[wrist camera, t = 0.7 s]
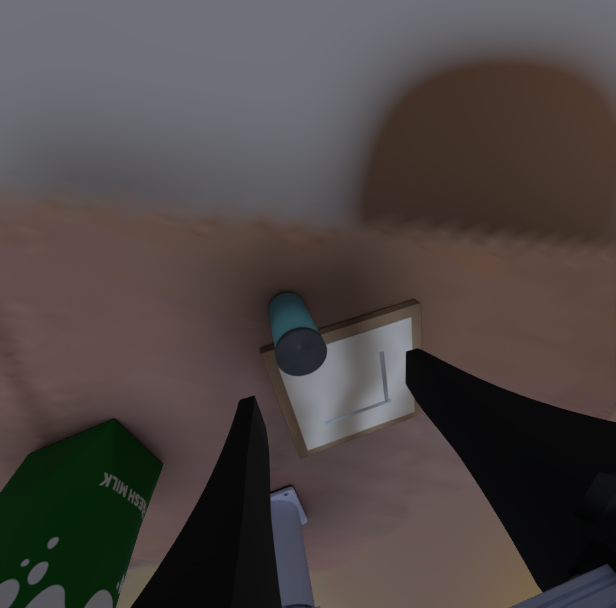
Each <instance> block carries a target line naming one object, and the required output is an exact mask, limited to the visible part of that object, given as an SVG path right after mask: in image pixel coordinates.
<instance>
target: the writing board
mask: <svg viewBox="0 0 616 608" xmlns="http://www.w3.org/2000/svg"><path fill="white" fill-rule="evenodd" d="M318 332H319V334H320V335H321V336H322V338H323V340H324V342H325V344H326V346H327V356H326V359H325V361H324V363H323V364H322V365H321V367H320V368H318V369H317V370H316V371H314V372H313V373H310V374H308V375H304V376H292V375H288V374H286V373H284V372H283V371H282V370H281V369H280V368H279V367H278V365H277V362H276V357H275V346H274V344H272V345H269V346H266V347H262V348H260V355H261V357H262V360H263V363H264V365H265V368H266V370H267V373H268V375H269V378H270V381H271V383H272V386H273V388H274V391H275V394H276V396H277V399H278V401H279V404H280V407H281V409H282V412H283V414H284V417H285V420H286V422H287V425H288V427H289V430H290V433H291V435H292V438H293V440H294V443H295V446H296V448H297V451H298V453H299V456H300V458H303V457H305V456H308V455H311V454H314V453H316V452H319V451H322V450H325V449H327V448H330V447H333V446H335V445H338V444H341V443H344V442H346V441H349V440H352V439H355V438H357V437H360V436H363V435H365V434H368V433H371V432H374V431H376V430H379V429H382V428H385V427H387V426H390V425H393V424H395V423H398V422H401V421H404V420H406V419H409V418H412V417H415V416H417V415H420V414H422V408H421V407H420V406H419V404H418V403H417V402H416V400H415V398H414V397H413V395H412V394H411V392H410V390H409V389H408V387H407V385H406V384H405V375H406V351H409V350H413V349H416V348H419V349H421V303H420V302H418V301H417V300H415V299H414V300H411V301H408V302H405V303H402V304H399V305H395V306H392V307H389V308H386V309H383V310H380V311H376V312H373V313H370V314H367V315H364V316H361V317H357V318H354V319H351V320H348V321H345V322H342V323H338V324H335V325H332V326H329V327H326V328H323V329H319V330H318Z"/></svg>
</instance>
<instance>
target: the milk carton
mask: <svg viewBox="0 0 616 608" xmlns="http://www.w3.org/2000/svg"><path fill="white" fill-rule="evenodd" d="M162 467H163V464H162V463H161V462H160V461H158V460H157V459H156V458H155V457H154V456H153V455H152V454H151V453H150V452H149V451H148V450H147V449H146V448H145V447H144V446H142V445H141V444H140V443H139V442H138V441H137V440H136V439H135V438H134V437H133V436H132V435H131V434H130V433H129V432H128V431H127V430H125V429H124V428H123V427H122V426H121V425H120V424H119V423H118V422H117V421H116V420H115V419H113V420H110V421H108V422H105V423H103V424H101V425H98V426H96V427H93V428H91V429H89V430H86V431H84V432H81V433H79V434H77V435H74V436H72V437H69V438H67V439H65V440H62V441H60V442H57V443H55V444H53V445H50V446H48V447H45V448H43V449H41V450H38V451H36V452H33V453H31V454H29V455H28V456H27V457H26V458H25V460H24V461H23V463H22V464H21V465H20V467H19V468H18V469H17V471H16V472H15V473H14V475H13V476H12V477H11V479H10V480H9V482H8V483H7V484H6V486H5V487H4V488H3V490H2V491H1V492H0V608H116V605H117V602H118V599H119V595H120V592H121V589H122V585H123V582H124V579H125V576H126V572H127V569H128V566H129V562H130V559H131V556H132V553H133V549H134V546H135V543H136V540H137V536H138V533H139V530H140V527H141V524H142V521H143V519H144V516H145V513H146V511H147V508H148V505H149V502H150V500H151V497H152V494H153V491H154V489H155V486H156V483H157V481H158V478H159V475H160V472H161V470H162Z"/></svg>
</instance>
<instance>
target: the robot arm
mask: <svg viewBox="0 0 616 608" xmlns="http://www.w3.org/2000/svg"><path fill="white" fill-rule="evenodd" d="M405 384H406V385H407V387H408V389H409V390H410V392H411V394H412V395H413V397H414V398H415V400H416V402H417V403H418V404H419V406H420V407H421V408H422V410H423V411H424V412H425V413H426V415H427V416H428V417H429V418H430V420H431V421H432V422H433V423H434V425H435V426H436V427H437V428H438V430H439V431H440V432H441V433H442V435H443V436H444V437H445V438H446V440H447V441H448V442H449V443H450V445H451V446H452V447H453V448H454V450H455V451H456V452H457V454H458V455H459V457H460V458H461V460H462V461H463V463H464V464H465V466H466V467H467V469H468V470H469V472H470V473H471V475H472V476H473V478H474V479H475V481H476V482H477V484H478V485H479V487H480V488H481V490H482V492H483V493H484V495H485V496H486V498H487V499H488V501H489V502H490V504H491V506H492V507H493V509H494V511H495V512H496V514H497V516H498V517H499V519H500V521H501V522H502V524H503V526H504V527H505V529H506V531H507V532H508V534H509V536H510V537H511V539H512V541H513V542H514V544H515V546H516V548H517V550H518V551H519V553H520V555H521V557H522V558H523V560H524V562H525V563H526V565H527V567H528V569H529V571H530V572H531V574H532V576H533V578H534V580H535V582H536V584H537V585H538V586H539V588H540V589H541V590H542V592H543V593H541V594H539V595H536V596H534V597H532V598H530V599H527V600H525V601H523V602H521V603H518V604H516V605H514V606H512V607H510V608H616V422H612V421H607V420H603V419H599V418H595V417H591V416H588V415H584V414H580V413H576V412H572V411H569V410H565V409H562V408H558V407H555V406H552V405H549V404H546V403H542V402H539V401H536V400H533V399H530V398H527V397H524V396H522V395H519V394H516V393H514V392H511V391H508V390H506V389H503V388H500V387H498V386H496V385H493V384H491V383H489V382H486V381H484V380H482V379H479V378H477V377H475V376H473V375H471V374H469V373H466V372H464V371H462V370H460V369H458V368H456V367H454V366H452V365H450V364H448V363H446V362H444V361H442V360H440V359H438V358H436V357H435V356H433V355H431V354H429V353H427V352H425V351H423V350H421V349H419V348H416V349H413V350H409V351H406V375H405ZM306 523H307V517H306V514H305V512H304V510H303V508H302V506H301V503H300V501H299V499H298V497H297V494H296V492H295V490H294V488H293V487H288V488H285V489H282V490H280V491H277V492H274V493H272V494H270V465H269V447H268V439H267V432H266V426H265V423H264V420H263V418H262V415H261V412H260V409H259V407H258V404H257V401H256V398H255V396H251V397H248V398H244V399H241V400H240V401H239V403H238V407H237V410H236V414H235V417H234V420H233V423H232V426H231V429H230V431H229V434H228V437H227V439H226V442H225V444H224V447H223V450H222V452H221V454H220V457H219V459H218V461H217V463H216V466H215V468H214V470H213V472H212V475H211V477H210V479H209V481H208V483H207V485H206V487H205V489H204V491H203V493H202V495H201V497H200V499H199V501H198V502H197V504H196V506H195V508H194V510H193V511H192V513H191V515H190V517H189V518H188V520H187V522H186V524H185V526H184V527H183V529H182V531H181V532H180V534H179V536H178V537H177V539H176V541H175V542H174V544H173V545H172V547H171V548H170V550H169V551H168V553H167V555H166V556H165V558H164V559H163V561H162V562H161V564H160V565H159V567H158V569H157V570H156V572H155V573H154V575H153V576H152V578H151V579H150V581H149V582H148V584H147V585H146V587H145V588H144V589H143V591H142V592H141V594H140V595H139V596H138V598H137V599H136V601H135V602H134V604H133V605H132V606H131V608H320V607H319V606H318V607H315V606H314V599H313V593H312V587H311V581H310V576H309V569H308V563H307V557H306V551H305V545H304V539H303V533H302V527H301V525H303V524H306Z"/></svg>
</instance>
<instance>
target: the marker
mask: <svg viewBox="0 0 616 608" xmlns="http://www.w3.org/2000/svg"><path fill="white" fill-rule="evenodd" d="M268 314H269V319H270V325H271V330H272V336H273V341H274V346H275V357H276V362H277V365H278V367H279V368H280V369H281V370H282V371H283V372H284V373H286V374H288V375H292V376H304V375H308V374H310V373H313V372H314V371H316V370H317V369H318V368H320V367H321V365H322V364H323V363H324V361H325V359H326V356H327V346H326V344H325V342H324V340H323V338H322V336H321V335H320V334H319V332H318V330H317V328H316V326H315V324H314V322H313V320H312V318H311V316H310V314H309V312H308V310H307V308H306V306H305V304H304V302H303V300H302V299H301V298H300V297H299V296H298V295H296V294H293V293H283V294H280V295H278V296H276V297H275V298H274V299H273V300H272V301H271V302H270V304H269V308H268Z"/></svg>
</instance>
